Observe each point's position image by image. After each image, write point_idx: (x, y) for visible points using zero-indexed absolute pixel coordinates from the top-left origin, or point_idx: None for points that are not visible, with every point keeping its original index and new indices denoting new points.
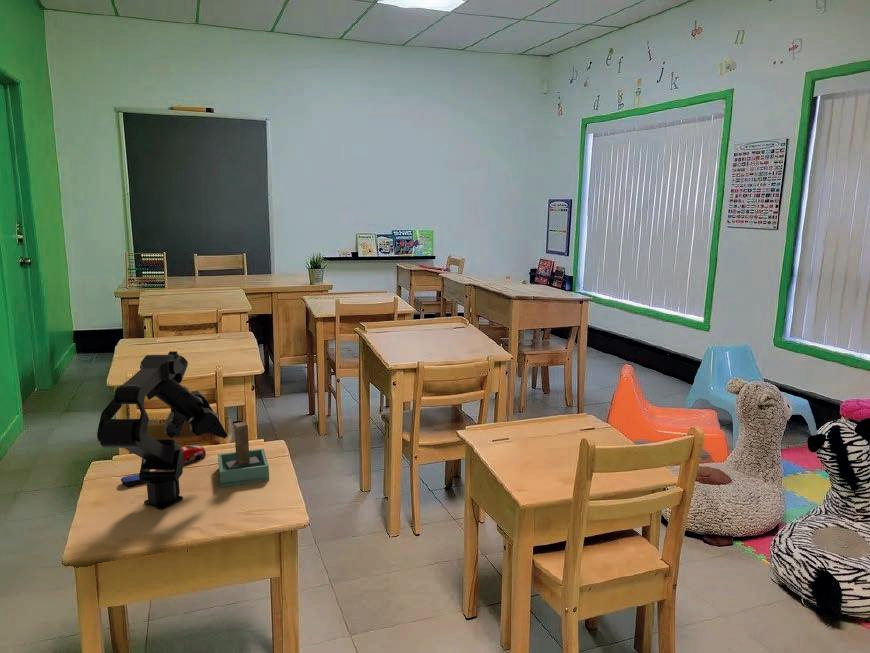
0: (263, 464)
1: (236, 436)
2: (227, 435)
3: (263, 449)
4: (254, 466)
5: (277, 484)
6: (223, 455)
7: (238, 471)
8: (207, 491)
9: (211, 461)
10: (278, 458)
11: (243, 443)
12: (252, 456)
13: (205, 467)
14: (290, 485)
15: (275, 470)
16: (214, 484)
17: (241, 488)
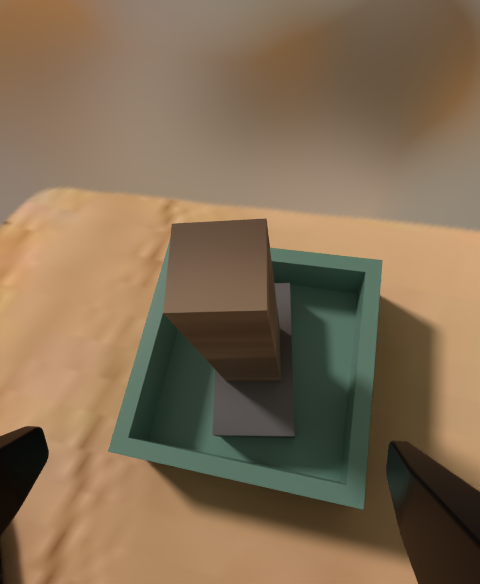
0: (280, 275)
1: (243, 341)
2: (406, 442)
3: None
4: (362, 319)
5: (423, 271)
6: (133, 425)
7: (370, 405)
8: (375, 581)
9: (48, 464)
10: (184, 214)
11: (275, 317)
12: None
13: (94, 510)
14: (452, 231)
15: (286, 248)
16: (307, 522)
17: (406, 414)
